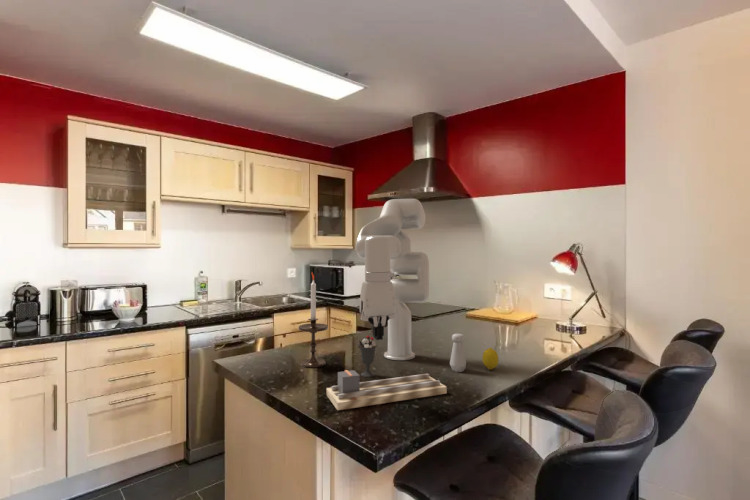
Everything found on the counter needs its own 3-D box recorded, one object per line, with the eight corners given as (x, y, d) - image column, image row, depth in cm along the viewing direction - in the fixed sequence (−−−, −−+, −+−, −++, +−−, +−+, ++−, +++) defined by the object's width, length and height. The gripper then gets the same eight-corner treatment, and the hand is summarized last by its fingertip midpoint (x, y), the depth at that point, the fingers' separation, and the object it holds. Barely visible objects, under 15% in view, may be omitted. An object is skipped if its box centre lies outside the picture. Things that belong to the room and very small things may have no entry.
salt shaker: (448, 367, 141) (448, 332, 141) (463, 367, 142) (463, 332, 142) (452, 373, 135) (452, 336, 135) (468, 372, 136) (468, 335, 136)
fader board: (337, 410, 103) (337, 398, 103) (326, 394, 114) (326, 384, 115) (446, 393, 116) (446, 382, 116) (427, 380, 127) (427, 371, 127)
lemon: (499, 372, 135) (499, 350, 135) (482, 371, 136) (483, 349, 137) (497, 368, 141) (497, 346, 141) (481, 367, 142) (481, 345, 142)
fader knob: (342, 395, 108) (342, 376, 108) (337, 389, 112) (337, 371, 112) (359, 393, 109) (359, 374, 109) (354, 387, 114) (354, 369, 114)
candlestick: (293, 363, 146) (293, 271, 146) (317, 358, 153) (317, 270, 153) (308, 370, 138) (308, 272, 138) (333, 364, 145) (333, 271, 145)
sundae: (380, 372, 135) (380, 330, 135) (373, 378, 129) (373, 334, 129) (362, 370, 137) (362, 328, 137) (355, 376, 131) (355, 332, 131)
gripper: (395, 275, 120) (395, 333, 121) (349, 277, 115) (350, 338, 116) (406, 277, 113) (406, 339, 114) (358, 280, 108) (358, 344, 109)
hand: (378, 338), depth 115 cm, fingers closed
